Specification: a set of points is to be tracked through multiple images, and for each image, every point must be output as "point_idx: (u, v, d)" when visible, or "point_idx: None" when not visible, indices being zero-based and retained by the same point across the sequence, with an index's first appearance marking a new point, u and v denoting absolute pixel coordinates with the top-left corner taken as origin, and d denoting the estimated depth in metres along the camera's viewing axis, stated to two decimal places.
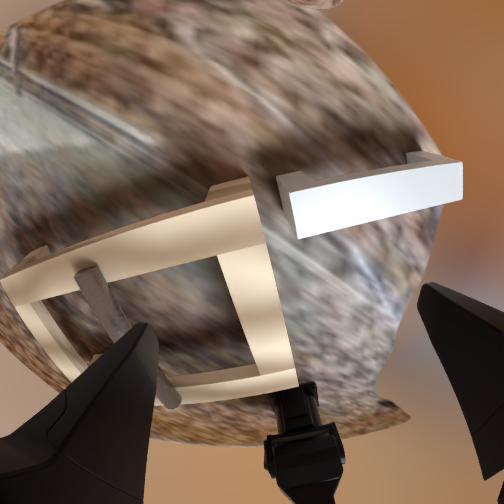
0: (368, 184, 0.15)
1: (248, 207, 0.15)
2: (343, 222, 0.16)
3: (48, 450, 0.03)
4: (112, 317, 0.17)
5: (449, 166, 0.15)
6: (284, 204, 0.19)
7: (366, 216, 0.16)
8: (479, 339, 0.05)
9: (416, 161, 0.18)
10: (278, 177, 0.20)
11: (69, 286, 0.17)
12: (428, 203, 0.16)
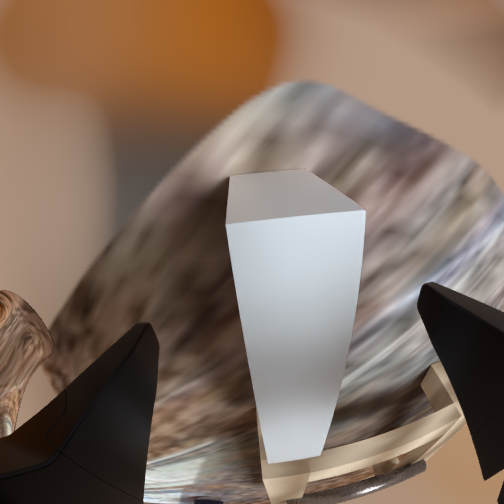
0: (273, 429, 0.09)
1: (272, 479, 0.12)
2: (319, 437, 0.10)
3: (48, 450, 0.03)
4: (324, 503, 0.16)
5: (245, 289, 0.06)
6: None
7: (321, 424, 0.10)
8: (479, 339, 0.05)
9: None
10: None
11: None
12: (340, 343, 0.07)
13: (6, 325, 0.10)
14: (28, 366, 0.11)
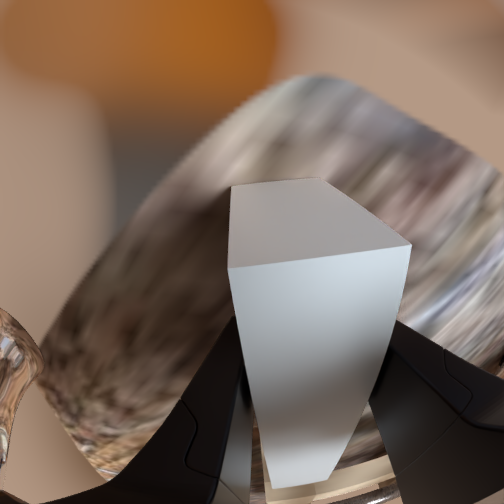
0: (280, 464, 0.08)
1: (276, 501, 0.11)
2: (328, 467, 0.09)
3: (200, 481, 0.03)
4: None
5: (253, 344, 0.05)
6: None
7: (331, 457, 0.08)
8: (395, 374, 0.05)
9: None
10: None
11: None
12: (362, 389, 0.06)
13: None
14: (19, 386, 0.09)
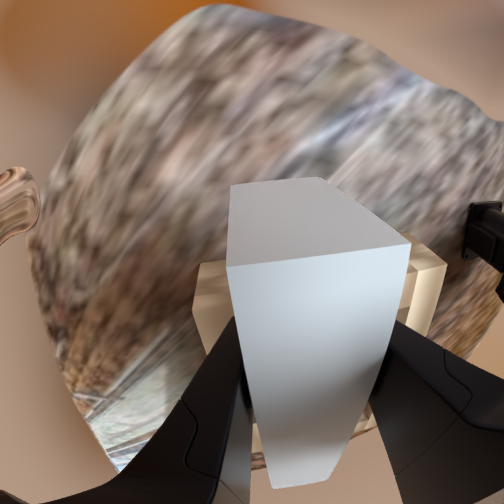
0: (279, 464, 0.08)
1: (203, 315, 0.16)
2: (327, 467, 0.09)
3: (200, 482, 0.03)
4: None
5: (252, 343, 0.05)
6: None
7: (331, 457, 0.08)
8: (395, 374, 0.05)
9: None
10: None
11: None
12: (362, 389, 0.06)
13: (9, 179, 0.14)
14: (16, 212, 0.14)
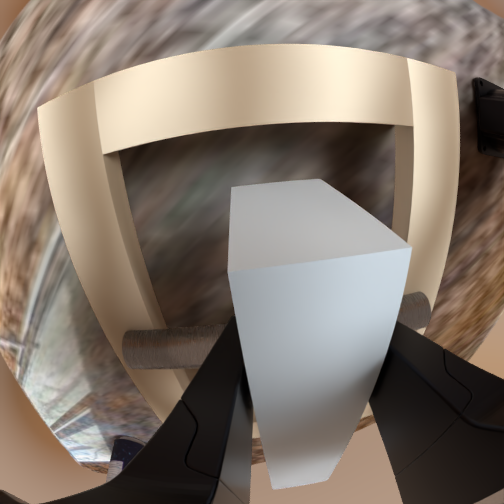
0: (280, 465, 0.08)
1: (48, 112, 0.07)
2: (327, 468, 0.09)
3: (200, 481, 0.03)
4: (194, 348, 0.11)
5: (253, 347, 0.05)
6: None
7: (331, 458, 0.08)
8: (395, 374, 0.05)
9: None
10: None
11: (167, 376, 0.14)
12: (363, 390, 0.06)
13: None
14: None
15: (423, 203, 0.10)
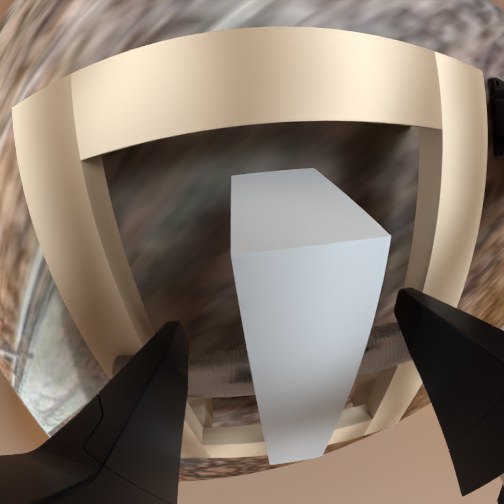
0: (276, 438, 0.09)
1: (22, 112, 0.06)
2: (321, 442, 0.10)
3: (88, 463, 0.03)
4: (192, 379, 0.09)
5: (252, 320, 0.05)
6: None
7: (325, 432, 0.09)
8: (455, 350, 0.05)
9: None
10: None
11: None
12: (351, 364, 0.07)
13: None
14: None
15: (449, 216, 0.08)
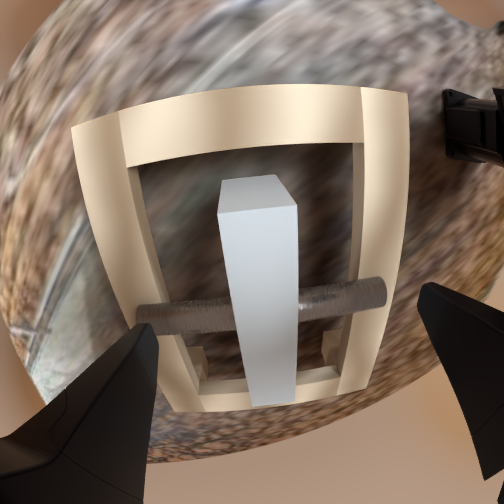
0: (252, 364, 0.14)
1: (80, 132, 0.11)
2: (290, 379, 0.15)
3: (48, 450, 0.03)
4: (193, 316, 0.15)
5: (228, 250, 0.11)
6: None
7: (289, 363, 0.14)
8: (479, 339, 0.05)
9: None
10: None
11: (170, 345, 0.17)
12: (291, 289, 0.12)
13: None
14: None
15: (374, 203, 0.14)
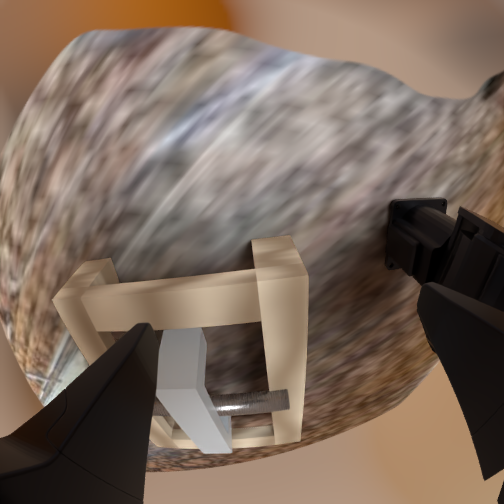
0: (194, 437, 0.19)
1: (59, 304, 0.16)
2: (223, 444, 0.20)
3: (48, 449, 0.03)
4: (156, 408, 0.19)
5: (162, 400, 0.15)
6: None
7: (218, 438, 0.19)
8: (479, 339, 0.05)
9: None
10: None
11: None
12: (205, 415, 0.17)
13: None
14: None
15: (275, 354, 0.18)
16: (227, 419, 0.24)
